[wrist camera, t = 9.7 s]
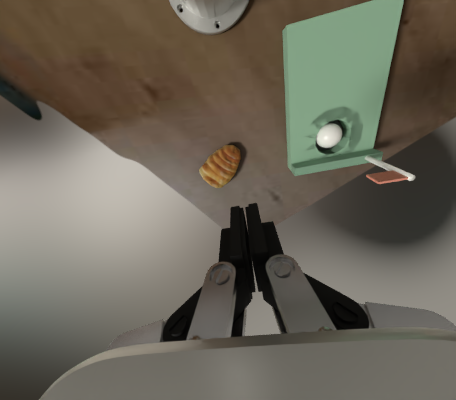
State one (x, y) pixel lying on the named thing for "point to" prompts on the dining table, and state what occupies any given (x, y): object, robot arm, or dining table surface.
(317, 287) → the robot arm
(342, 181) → the dining table surface
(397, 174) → the flag
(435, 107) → the dining table surface
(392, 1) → the mat
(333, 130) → the ball
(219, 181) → the pastry
